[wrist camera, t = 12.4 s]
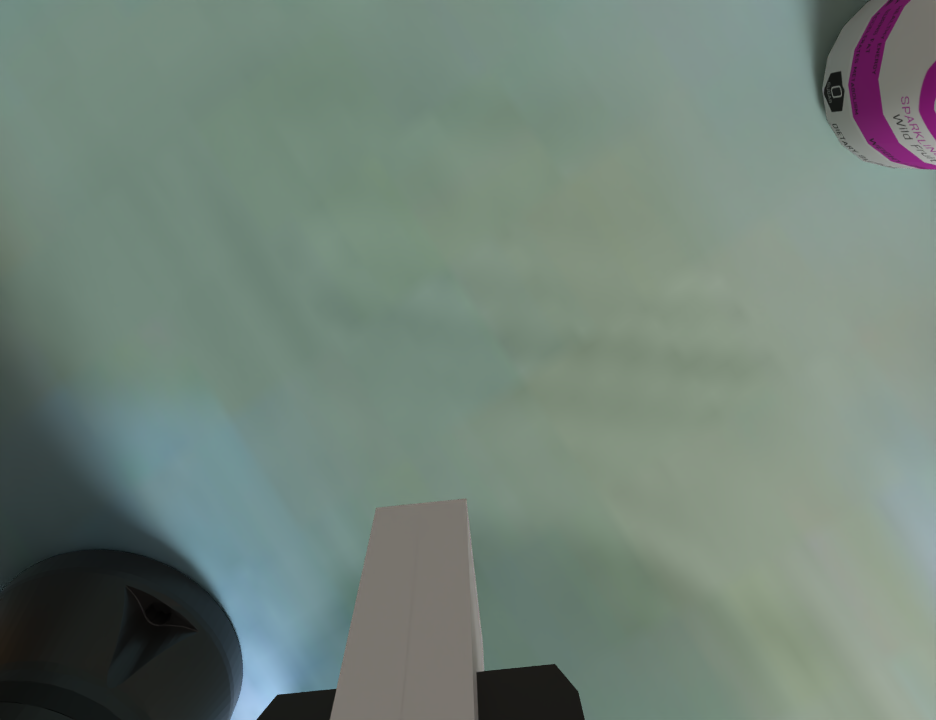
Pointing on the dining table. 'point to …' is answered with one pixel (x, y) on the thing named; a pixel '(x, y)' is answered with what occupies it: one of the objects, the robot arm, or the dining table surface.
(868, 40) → the supplement can
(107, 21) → the dining table surface
